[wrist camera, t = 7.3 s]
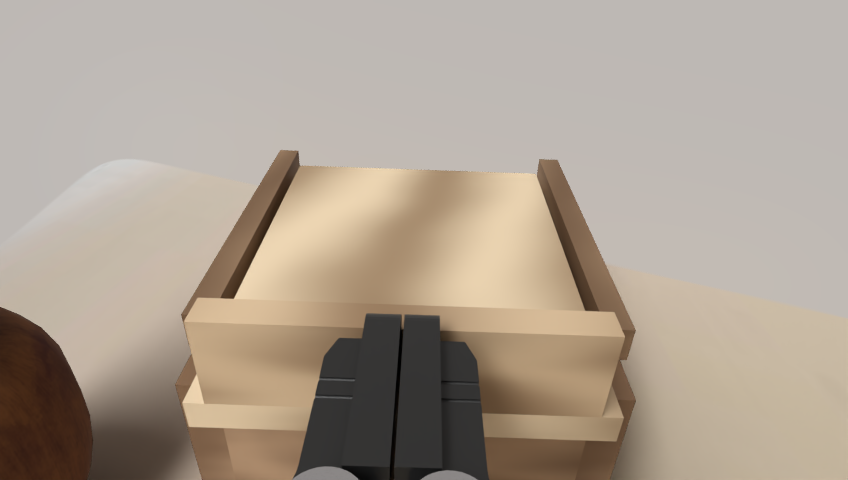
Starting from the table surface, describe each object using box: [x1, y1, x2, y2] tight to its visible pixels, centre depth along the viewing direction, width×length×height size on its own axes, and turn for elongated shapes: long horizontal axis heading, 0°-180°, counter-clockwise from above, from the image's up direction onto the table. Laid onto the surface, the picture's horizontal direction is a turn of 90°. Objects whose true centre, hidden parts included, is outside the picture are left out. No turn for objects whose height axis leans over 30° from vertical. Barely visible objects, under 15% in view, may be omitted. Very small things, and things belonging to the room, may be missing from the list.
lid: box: [182, 166, 625, 441], centre depth 18 cm, size 10×13×3 cm
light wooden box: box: [175, 150, 636, 480], centre depth 22 cm, size 12×13×8 cm
